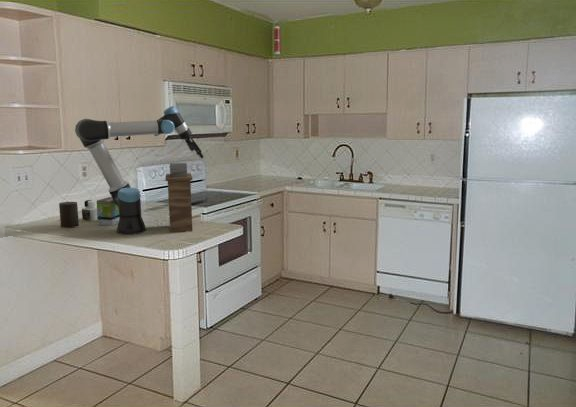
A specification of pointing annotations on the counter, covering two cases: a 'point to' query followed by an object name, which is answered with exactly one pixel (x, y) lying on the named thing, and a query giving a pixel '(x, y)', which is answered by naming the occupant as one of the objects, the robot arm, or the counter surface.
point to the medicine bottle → (89, 211)
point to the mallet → (178, 169)
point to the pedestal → (180, 203)
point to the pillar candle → (68, 214)
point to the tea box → (107, 212)
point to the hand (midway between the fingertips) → (202, 160)
